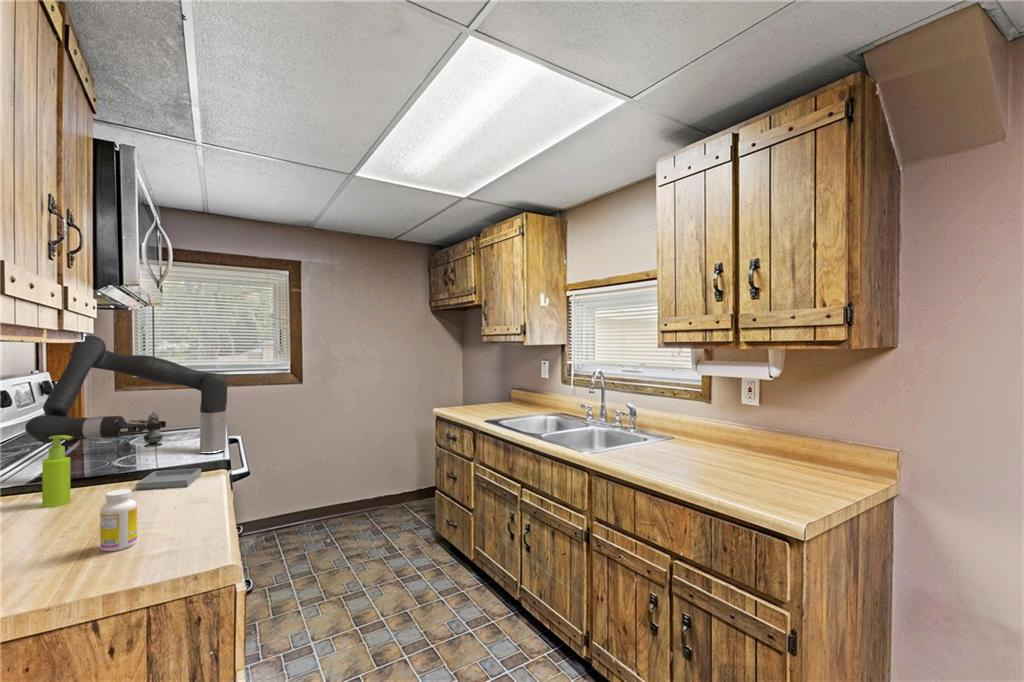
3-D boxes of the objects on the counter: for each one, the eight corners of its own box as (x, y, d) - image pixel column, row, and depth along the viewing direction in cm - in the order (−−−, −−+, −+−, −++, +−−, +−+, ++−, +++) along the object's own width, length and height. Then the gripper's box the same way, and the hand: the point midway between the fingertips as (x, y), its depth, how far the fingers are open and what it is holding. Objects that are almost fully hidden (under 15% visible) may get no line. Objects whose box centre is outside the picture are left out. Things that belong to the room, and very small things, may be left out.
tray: (154, 478, 164) (154, 471, 164) (201, 475, 168) (201, 468, 168) (136, 490, 151) (136, 483, 151) (187, 487, 155) (187, 479, 155)
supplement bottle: (132, 537, 117) (133, 485, 116) (140, 545, 112) (140, 491, 112) (97, 546, 111) (97, 492, 111) (103, 555, 107) (103, 498, 107)
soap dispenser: (60, 508, 135) (60, 438, 135) (36, 507, 135) (36, 437, 135) (79, 500, 141) (79, 433, 141) (56, 500, 141) (56, 433, 141)
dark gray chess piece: (152, 448, 164) (152, 413, 164) (138, 446, 165) (138, 412, 165) (167, 444, 169) (168, 410, 169) (154, 443, 171) (154, 409, 170)
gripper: (93, 420, 156) (154, 418, 161) (114, 413, 170) (171, 411, 175) (93, 442, 156) (154, 440, 161) (114, 434, 170) (170, 431, 175)
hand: (162, 425), depth 168 cm, fingers closed on dark gray chess piece, 3 cm apart
